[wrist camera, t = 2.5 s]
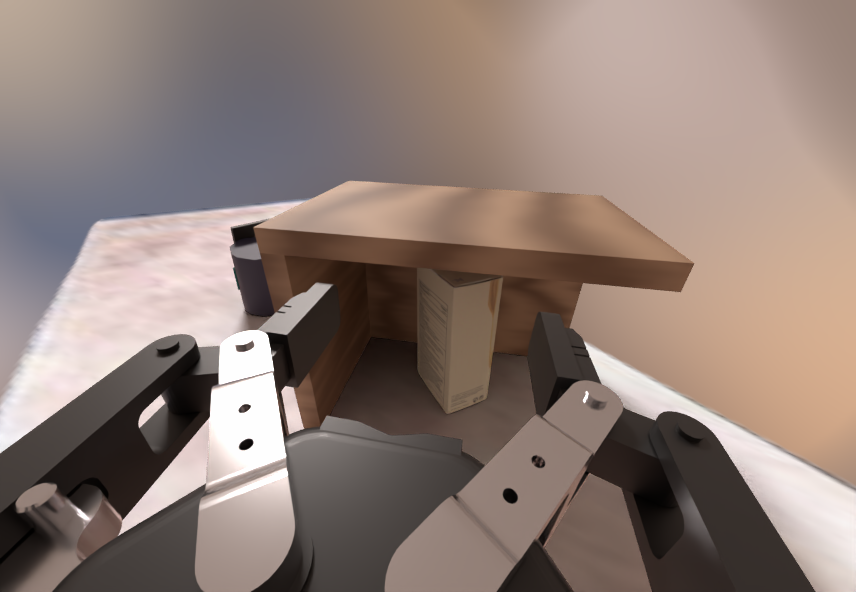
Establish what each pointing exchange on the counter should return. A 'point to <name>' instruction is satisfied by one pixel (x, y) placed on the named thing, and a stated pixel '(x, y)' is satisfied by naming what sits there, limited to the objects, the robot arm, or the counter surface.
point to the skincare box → (456, 334)
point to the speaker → (250, 270)
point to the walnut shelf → (449, 262)
